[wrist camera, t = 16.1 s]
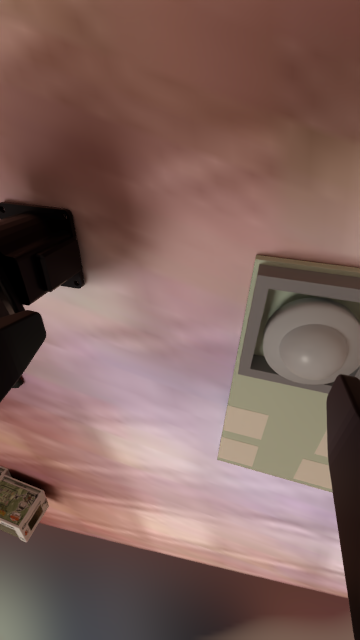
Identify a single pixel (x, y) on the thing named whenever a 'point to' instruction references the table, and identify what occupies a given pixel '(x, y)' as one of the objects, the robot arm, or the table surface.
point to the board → (282, 378)
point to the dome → (312, 341)
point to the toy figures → (20, 506)
